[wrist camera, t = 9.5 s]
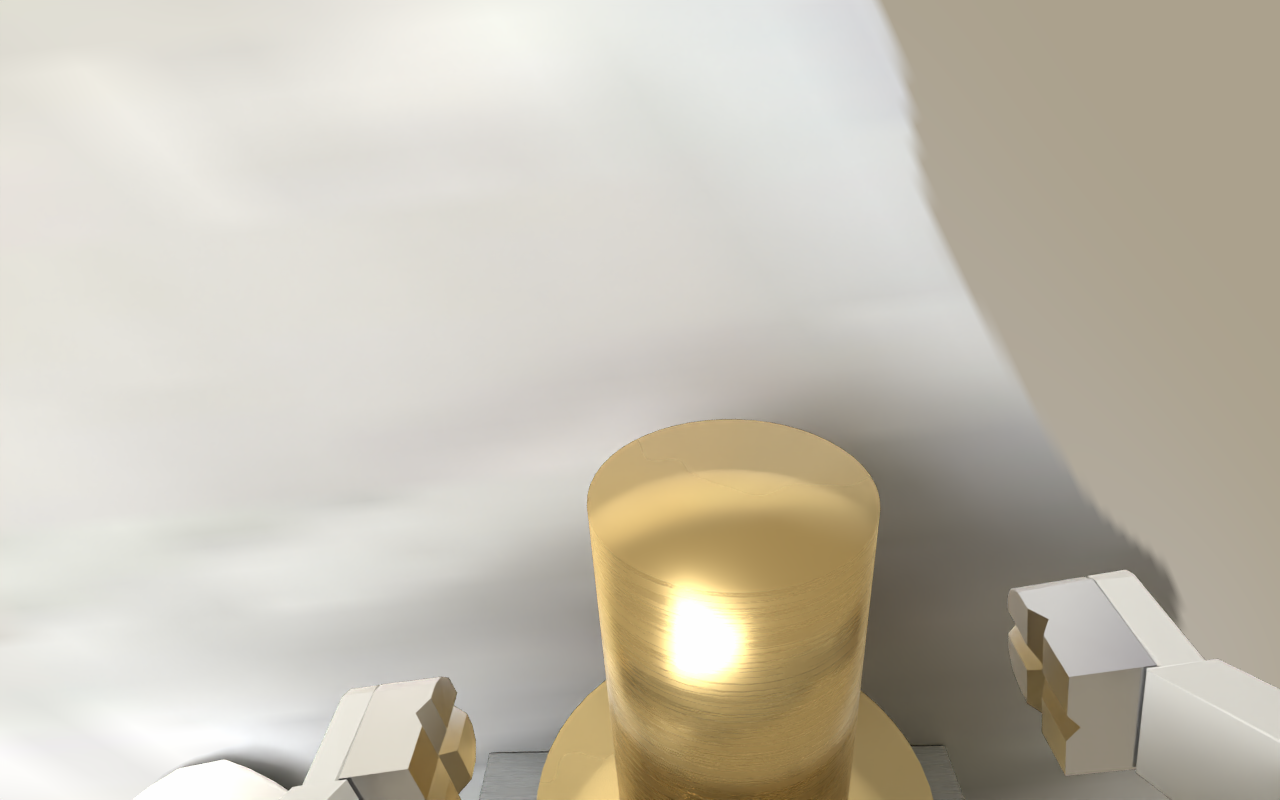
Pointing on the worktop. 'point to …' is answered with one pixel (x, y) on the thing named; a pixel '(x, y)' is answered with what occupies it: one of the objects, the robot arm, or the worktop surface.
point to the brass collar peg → (732, 626)
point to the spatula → (214, 784)
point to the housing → (518, 774)
